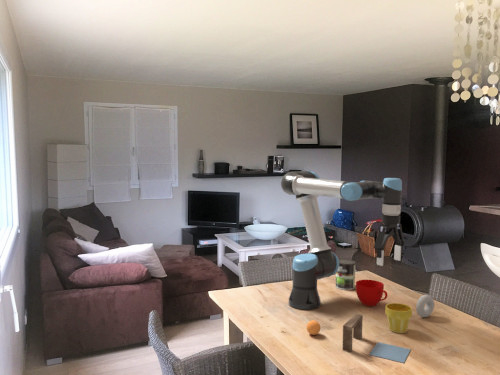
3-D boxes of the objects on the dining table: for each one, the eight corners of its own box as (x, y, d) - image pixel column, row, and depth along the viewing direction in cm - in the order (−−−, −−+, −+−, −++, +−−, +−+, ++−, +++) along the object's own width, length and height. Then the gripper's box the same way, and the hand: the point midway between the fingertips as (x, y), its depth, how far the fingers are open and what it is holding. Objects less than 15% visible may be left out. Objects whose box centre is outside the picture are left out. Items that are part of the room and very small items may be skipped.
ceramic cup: (376, 313, 198) (377, 291, 197) (349, 302, 212) (350, 282, 211) (395, 307, 205) (396, 287, 204) (368, 297, 219) (368, 278, 218)
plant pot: (380, 325, 184) (381, 302, 183) (404, 324, 185) (405, 302, 184) (390, 335, 174) (391, 311, 173) (415, 335, 175) (416, 311, 174)
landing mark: (369, 354, 157) (369, 354, 157) (377, 342, 168) (377, 341, 168) (403, 363, 151) (403, 362, 151) (410, 349, 161) (410, 349, 161)
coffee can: (347, 291, 228) (348, 265, 227) (331, 286, 236) (332, 261, 235) (358, 287, 235) (359, 261, 234) (342, 283, 243) (343, 258, 242)
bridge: (342, 349, 161) (343, 325, 160) (354, 335, 173) (355, 313, 173) (350, 351, 160) (351, 327, 159) (362, 337, 172) (362, 314, 171)
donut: (420, 320, 190) (421, 297, 189) (413, 317, 193) (414, 295, 192) (435, 316, 195) (436, 294, 194) (428, 313, 198) (429, 292, 197)
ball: (304, 335, 174) (304, 321, 173) (309, 330, 178) (309, 317, 178) (317, 338, 171) (317, 324, 170) (322, 333, 176) (322, 320, 175)
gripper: (382, 218, 177) (379, 269, 179) (414, 212, 193) (411, 259, 195) (366, 215, 182) (364, 265, 185) (398, 210, 199) (396, 256, 201)
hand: (388, 262), depth 190 cm, fingers open, 13 cm apart
